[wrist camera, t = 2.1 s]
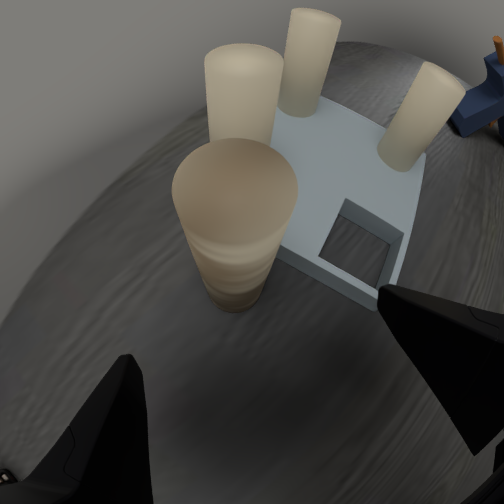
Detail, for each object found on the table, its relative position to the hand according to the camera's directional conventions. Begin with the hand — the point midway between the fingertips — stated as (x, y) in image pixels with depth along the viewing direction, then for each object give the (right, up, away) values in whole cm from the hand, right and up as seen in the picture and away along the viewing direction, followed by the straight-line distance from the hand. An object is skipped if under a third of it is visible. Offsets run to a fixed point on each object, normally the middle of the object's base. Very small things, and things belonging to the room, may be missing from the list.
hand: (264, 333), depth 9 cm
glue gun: (+40, +23, +24) cm, 52 cm away
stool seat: (+6, +9, +16) cm, 19 cm away
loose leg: (-2, 0, +12) cm, 12 cm away
